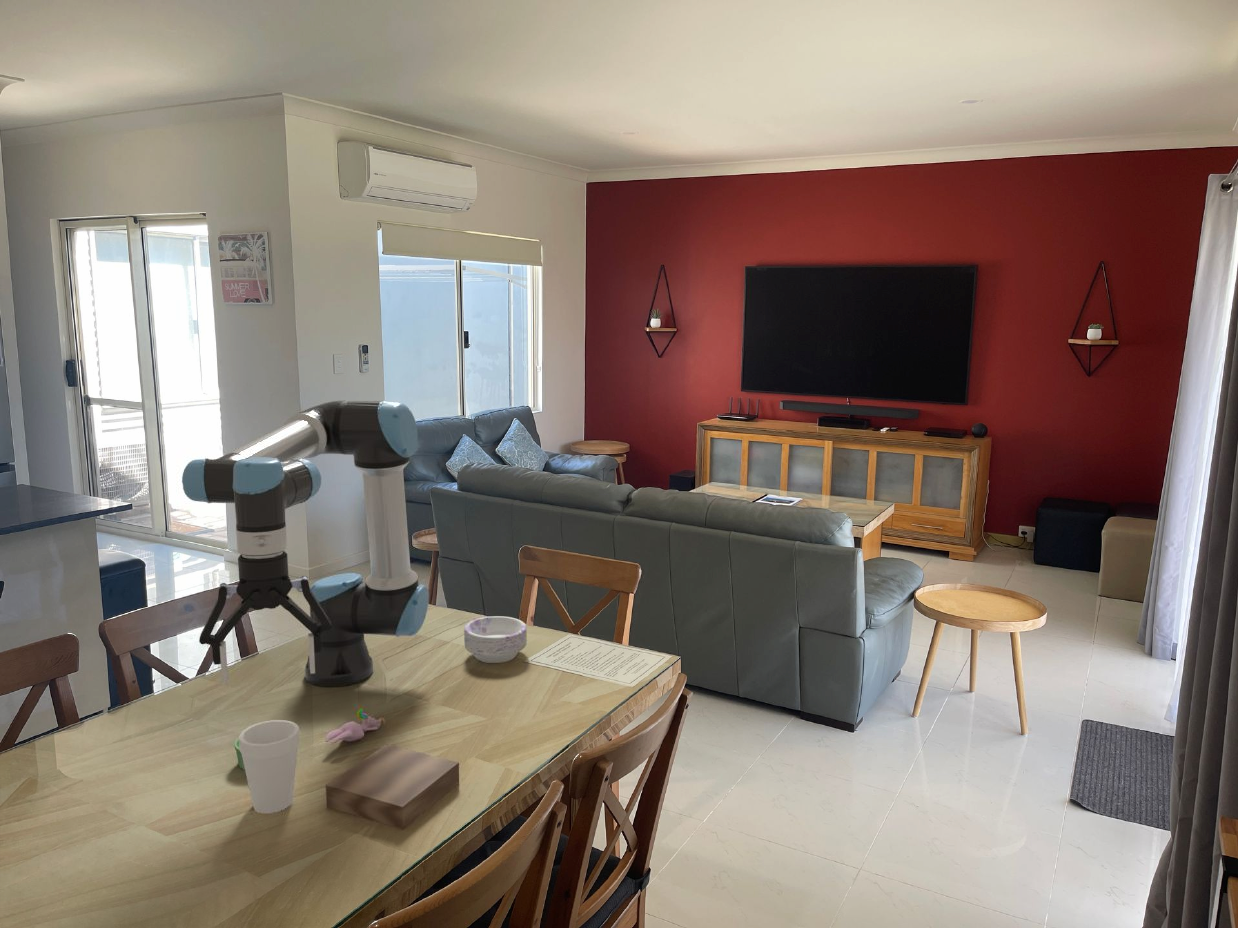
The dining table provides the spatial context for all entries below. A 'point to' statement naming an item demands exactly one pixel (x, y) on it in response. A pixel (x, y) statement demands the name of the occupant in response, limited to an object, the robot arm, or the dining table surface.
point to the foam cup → (270, 763)
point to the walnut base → (393, 785)
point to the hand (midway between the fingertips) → (269, 676)
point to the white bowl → (495, 638)
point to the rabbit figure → (355, 728)
